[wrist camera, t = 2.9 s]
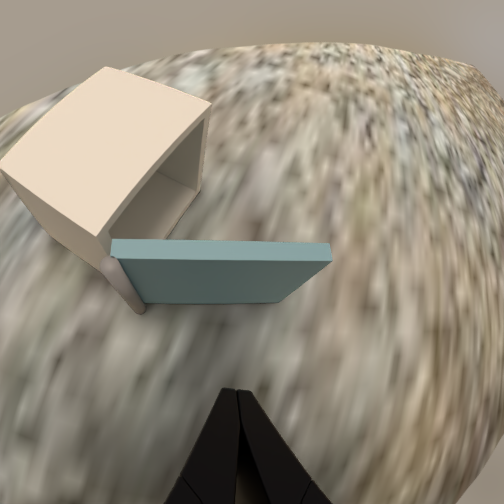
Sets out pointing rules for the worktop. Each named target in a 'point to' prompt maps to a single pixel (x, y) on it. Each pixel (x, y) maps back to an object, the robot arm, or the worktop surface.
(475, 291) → the worktop surface
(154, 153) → the carton
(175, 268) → the flap
